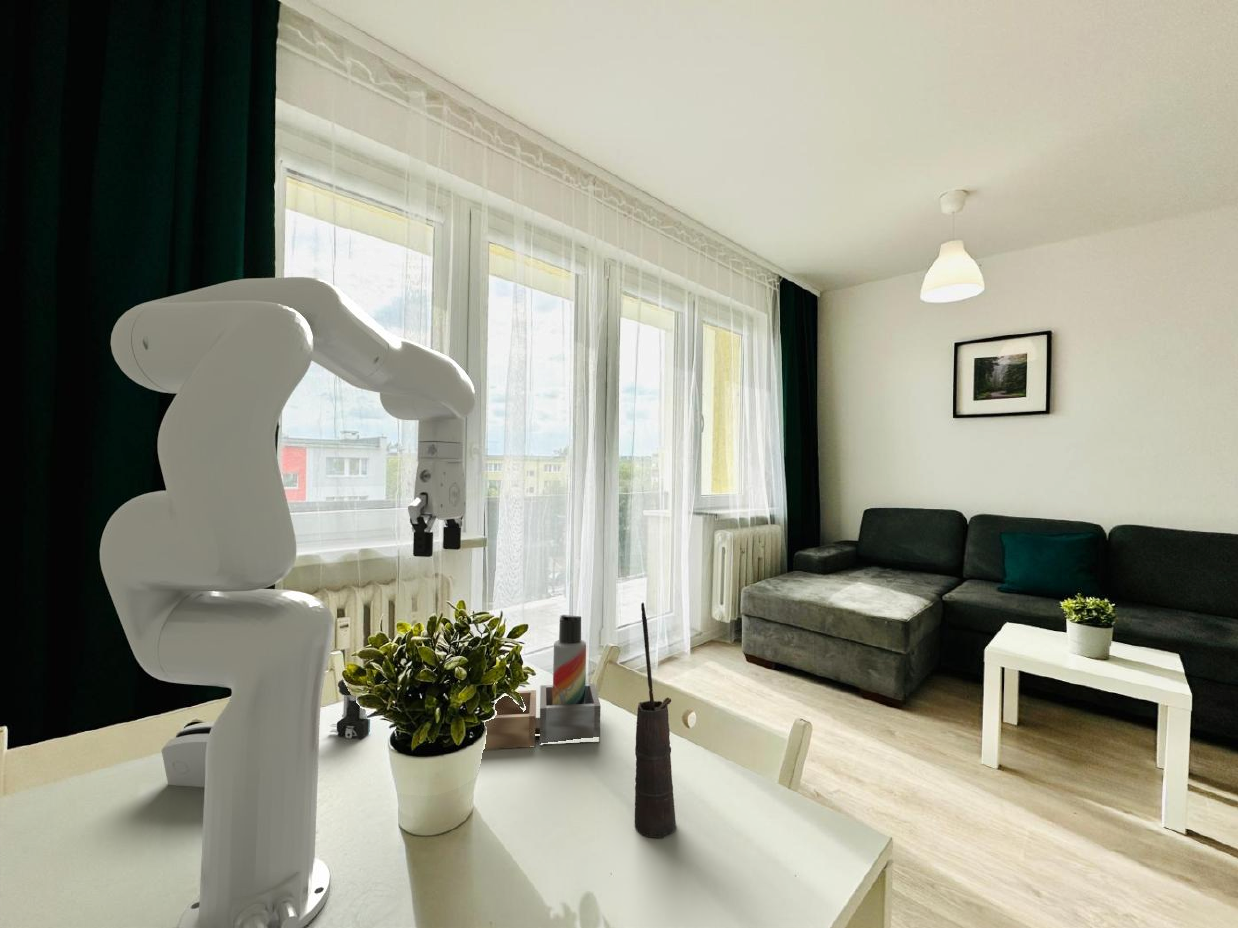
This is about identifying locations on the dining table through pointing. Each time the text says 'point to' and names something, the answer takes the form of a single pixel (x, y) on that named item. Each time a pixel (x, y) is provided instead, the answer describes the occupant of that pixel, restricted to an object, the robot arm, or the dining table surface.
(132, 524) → the robot arm
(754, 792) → the dining table surface
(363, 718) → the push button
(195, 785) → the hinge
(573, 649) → the lotion bottle
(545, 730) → the bottle stand
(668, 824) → the butter churn
